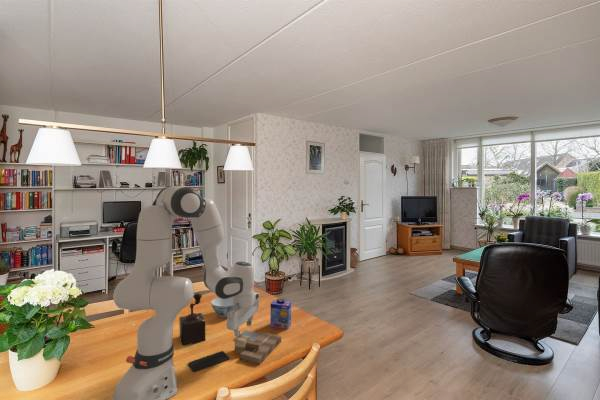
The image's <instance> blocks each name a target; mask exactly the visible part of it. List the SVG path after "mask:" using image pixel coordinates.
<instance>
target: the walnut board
mask: <svg viewBox="0 0 600 400" xmlns="http://www.w3.org/2000/svg"><path fill="white" fill-rule="evenodd" d="M261 334H262V335H261V336H260V337H258V338H257V339H256V340H255V341H254V342H257V343H261V347H260V348H259V349H256V348H252V347H247V348H246V349H245V350H244V351H243V352H242V353H241V354H240V353H239V354H240V355H239V356H240V357H239V358H240V359H239V360H240V361H243V362H248V363H251V364H255V365H259V366H260V365H261V364H262V363H264V361H265V360H266V359H267V358H268V357H269V355H270V354H271V353H273V351H274V350H275V349H276V348H277V347H278V346H279V344H280V343H281V342H282V335H277V334H274V333H270V332H263V333H261Z"/></svg>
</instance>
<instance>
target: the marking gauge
mask: <svg viewBox="0 0 600 400" xmlns="http://www.w3.org/2000/svg"><path fill="white" fill-rule="evenodd" d="M234 339H235V341H234V353H236V354H241V353H242V352H243V351H244V350H245V349H246V348H247V347H252V348H256V349H259V348H260V347H261V343H257V342H253V341H250V336H245V335H241V333H240V335H239V336H238V337H237V336H235V338H234Z"/></svg>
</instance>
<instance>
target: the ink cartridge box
mask: <svg viewBox="0 0 600 400" xmlns="http://www.w3.org/2000/svg"><path fill="white" fill-rule="evenodd" d="M291 326H292V302H291V301H287V300H286V301H285V300H284V299H282V298H281V299H280V298H276V300H274V299H273V300H272V302H270V326H269V327H271V328H277V329H285V330H289V329H290V328H291Z"/></svg>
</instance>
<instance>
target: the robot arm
mask: <svg viewBox="0 0 600 400" xmlns="http://www.w3.org/2000/svg"><path fill="white" fill-rule="evenodd" d="M176 218H184V219H189V220H190V222H191V226H192V229H193V233H194V237H195V238H196V241H197V243H198V247H199V249H200V253H201V258H202V261H203V267H204V273H203V284H204V286H205V287H206V288H207V289H208V290H210V291H211V292H212V293H213V294H214V295H216V297H217V298H218V297H219V298H222V299H227V298H230V297H233V305H234V306H233V307H232V308H231V310H230V311H229V312H228V316H227V317H226V318H227V319H226V328H227V330H228V331H229V330H230V331H233V332H234V336H235V337H238V336H239V335H240V334H241V331H240V330H239V329H240V327H241V326H242V325H243V324H244V323H246V326H247V327H251V326H252V323H253V322H252V321H253V319H254V315H256V314H257V312H258V311H259V308H260V300H259V299H260V294H261V293H259V292H256V291H254V285H255V270H254V267H253V265H252V264H251V263H249V262H246V261H237V262H235V263H234V265H233V266H232V267H230V268H229V269H227V270H225V269H224V268H223V267H222V266H221V263H220V258H219V254H218V246H219V245H221V244H222V242H223V241H224V239H225V229H224V224H223V221H222V217H221V215H220V212H219V209H218V207H217V205H216V202H215V201H214V200H213V199H212V198H209V197H203V196H202V194H200V193H199V192H198V190H196V189H194V188H192V187H188V186H186V187H185V186H181V185H174V186H173V185H172V186H166V187H164V188H162V189H161V190H160V191H159V192H158V193H157V195H156V198H155V199H154V201H153V203H152V205H148V206H146V207H144V208H142V209H141V210H140V212H139V214H138V220H137V225H136V227H137V228H136V253H135V262H134V264H133V267H132V269H131V270H130V272H129V273H128V275H126V277H124V278H123V279H122V280H120V281H119V283H117V285H116V286H115V288H114V290H113V294H112V295H113V296H112V298H113V302H114V304H115V306H116V307H117V308H118V309H122V310H123V309H124V310H127V311H128V310H129V311H145V310H147V311H149V310H152V311H153V310H154V311H155V315H153V316H150V317H149V318H147V319H145V320H144V321H143V322H141V324H140V325H139V327H138V328H137V334H136V336H137V337H136V338H137V342H136V343H137V345H136V346H137V347H136V348H137V349H136V350H135V355H134V356H132V355H128V356H126V359H125V362H126V363H128V364H131V366H130V367H128V368H129V369H128V370H127V371H126V372H125V373H124V374H123V376H122V377H121V379H120V380H119V381H118V383H117V384H116V385H115V387H114V393H113V397H112V398H110V399H109V400H166V399H167V400H169V399H170V398H172V397H173V396H175V395H176V394H177V393H178V387H177V386H178V378H177V376H176V375H177V374H176V371H175V365H174V354H175V353H174V352H175V346H174V345H175V344H174V342H173V335H174V334H173V333H174V324H175V320H176V319H177V316H178V315H179V313H180V312H181V311H182V310H183V309H184V308H186V307H187V306H188V305H189V304H191V303H192V300H193V299H194V295H195V286H194V284H193V283H194V282H192V280H191V279H190V278H188V277H183V276H175V275H173V276H172V275H171V276H168V275H167V276H164V275H163V276H156V275H155V272H156V270H158V269H160V268H162V267H163V266H165V265H167V264H168V263H169V262H170V261H171V260H172V257H173V225H174V222H175V220H176ZM168 398H169V399H168Z"/></svg>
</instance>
